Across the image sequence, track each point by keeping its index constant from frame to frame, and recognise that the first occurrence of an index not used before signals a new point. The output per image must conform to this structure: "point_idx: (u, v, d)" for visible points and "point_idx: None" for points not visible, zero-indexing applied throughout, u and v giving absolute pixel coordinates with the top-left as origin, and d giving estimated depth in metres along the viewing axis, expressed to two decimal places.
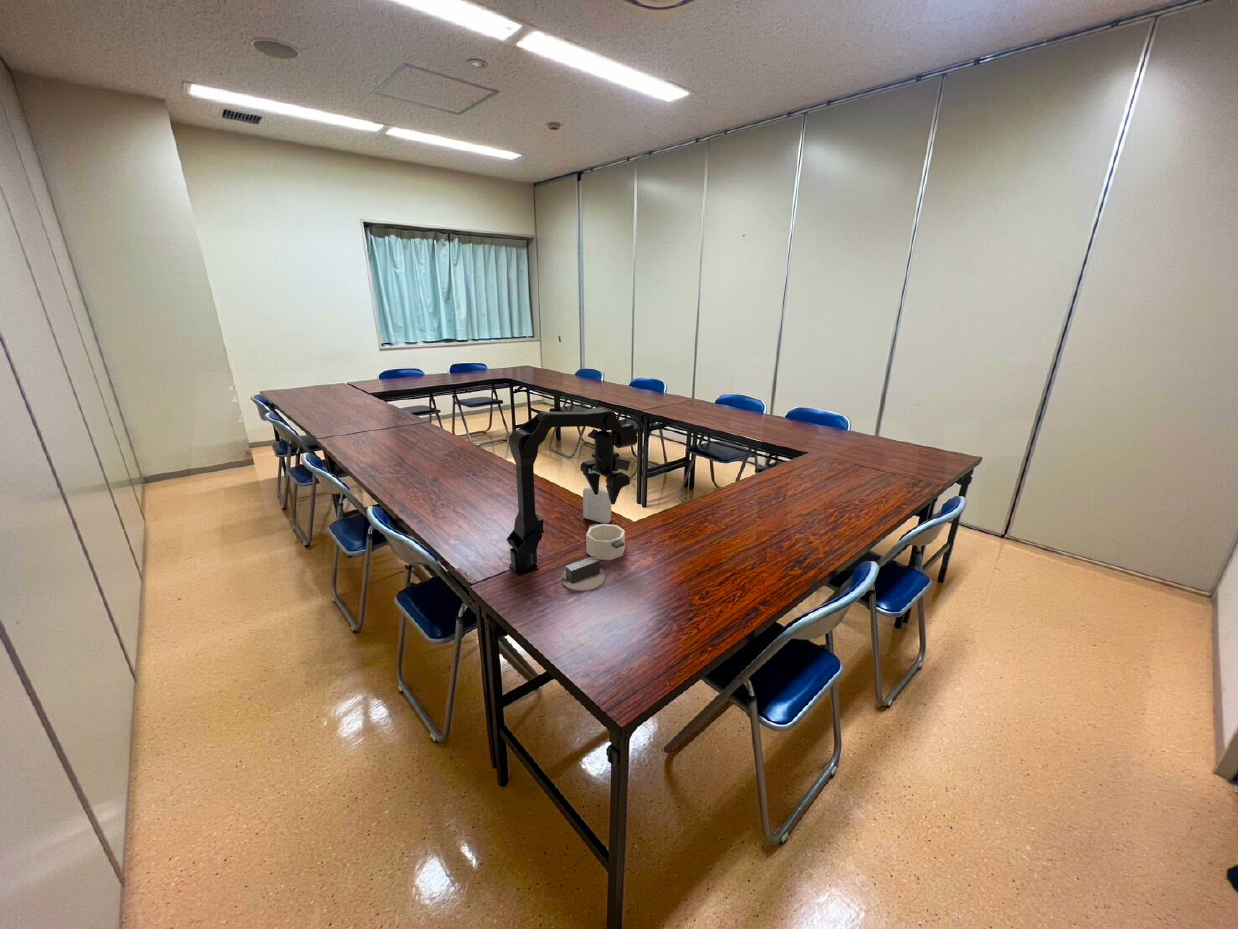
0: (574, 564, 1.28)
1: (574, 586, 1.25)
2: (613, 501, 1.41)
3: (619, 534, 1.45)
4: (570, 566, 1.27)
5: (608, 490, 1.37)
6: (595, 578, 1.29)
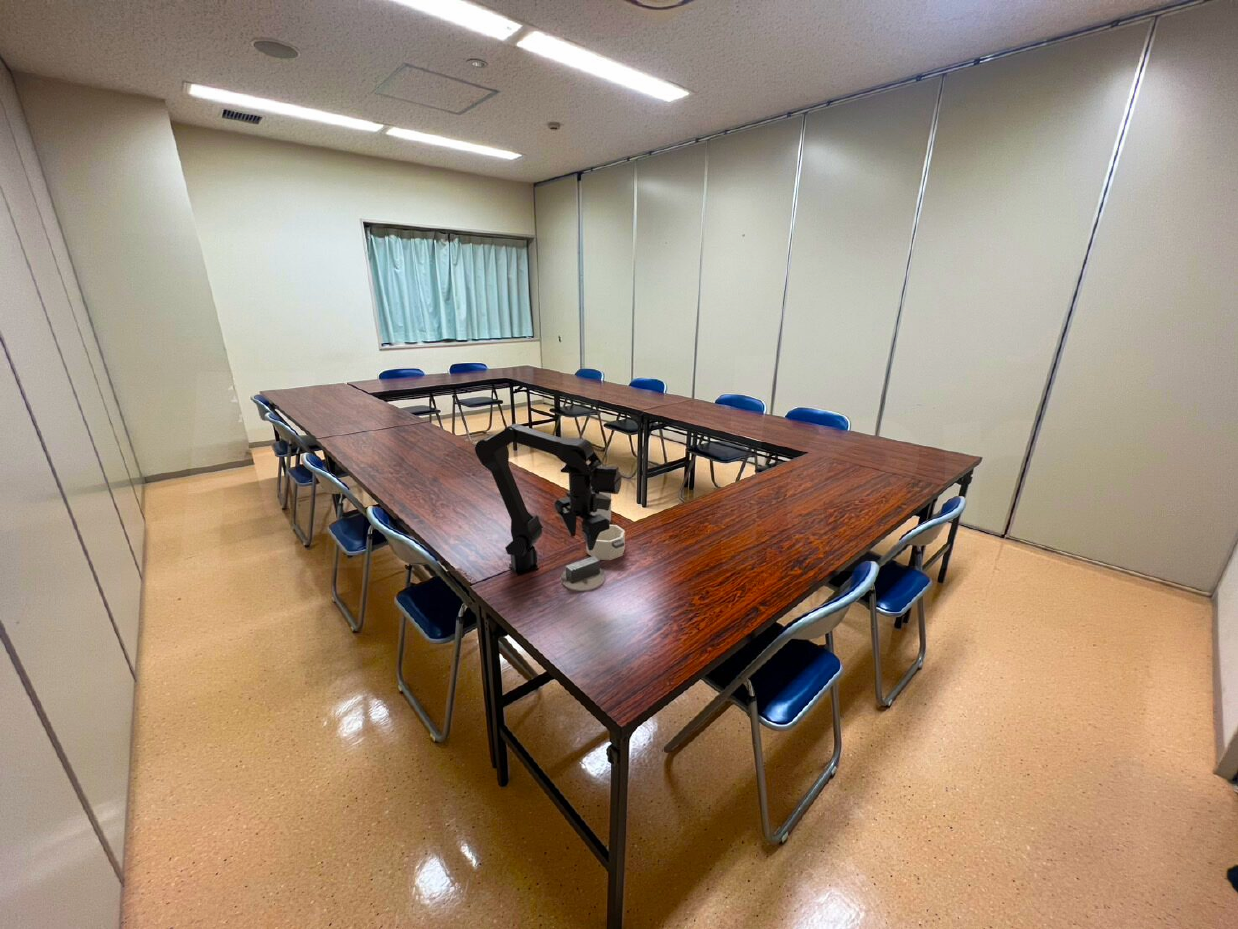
0: (574, 564, 1.28)
1: (574, 586, 1.25)
2: (591, 547, 1.22)
3: (619, 534, 1.45)
4: (570, 566, 1.27)
5: (584, 535, 1.19)
6: (595, 578, 1.29)
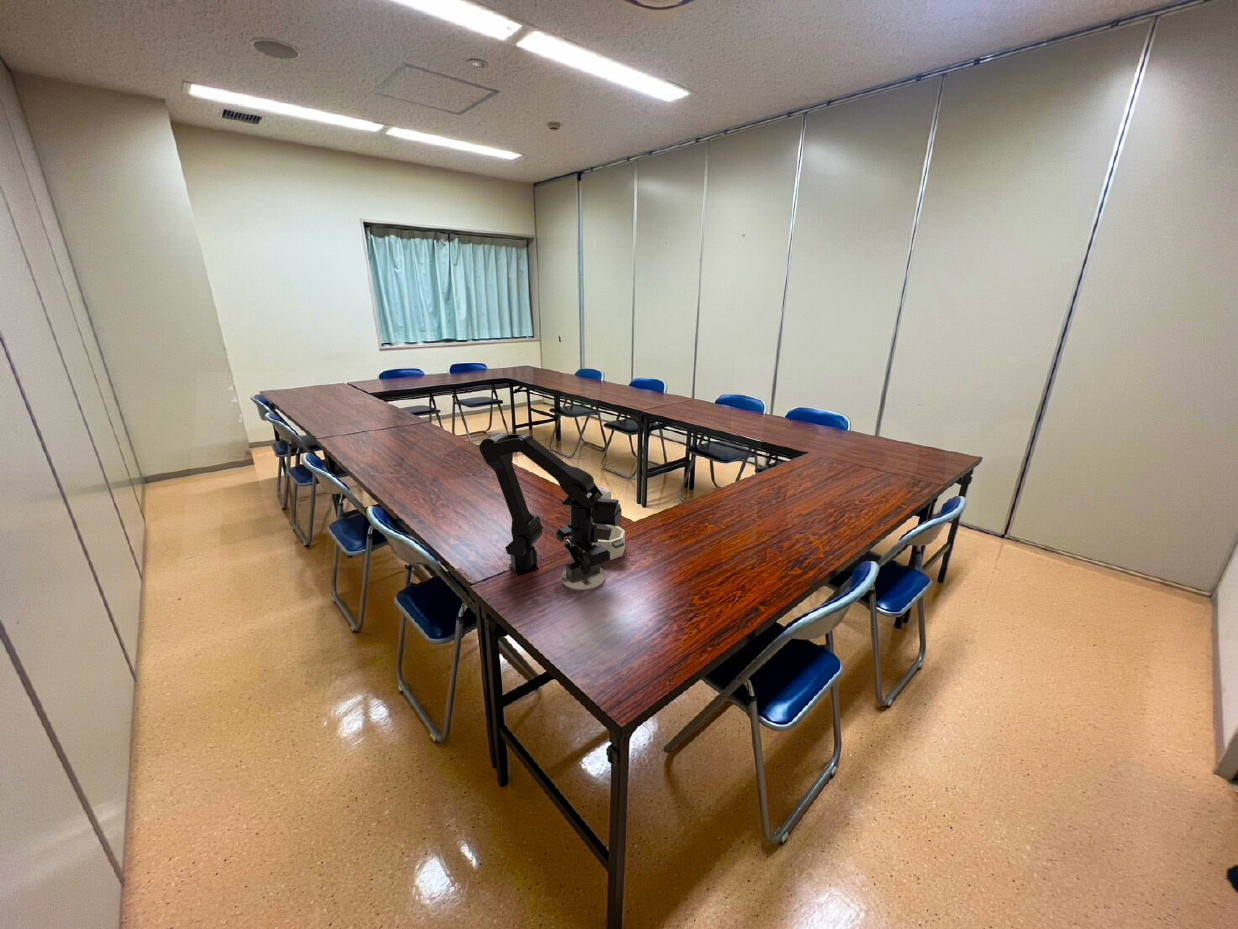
0: (574, 563, 1.28)
1: (574, 585, 1.25)
2: (586, 572, 1.27)
3: (619, 534, 1.45)
4: (570, 565, 1.27)
5: (580, 561, 1.24)
6: (595, 577, 1.29)
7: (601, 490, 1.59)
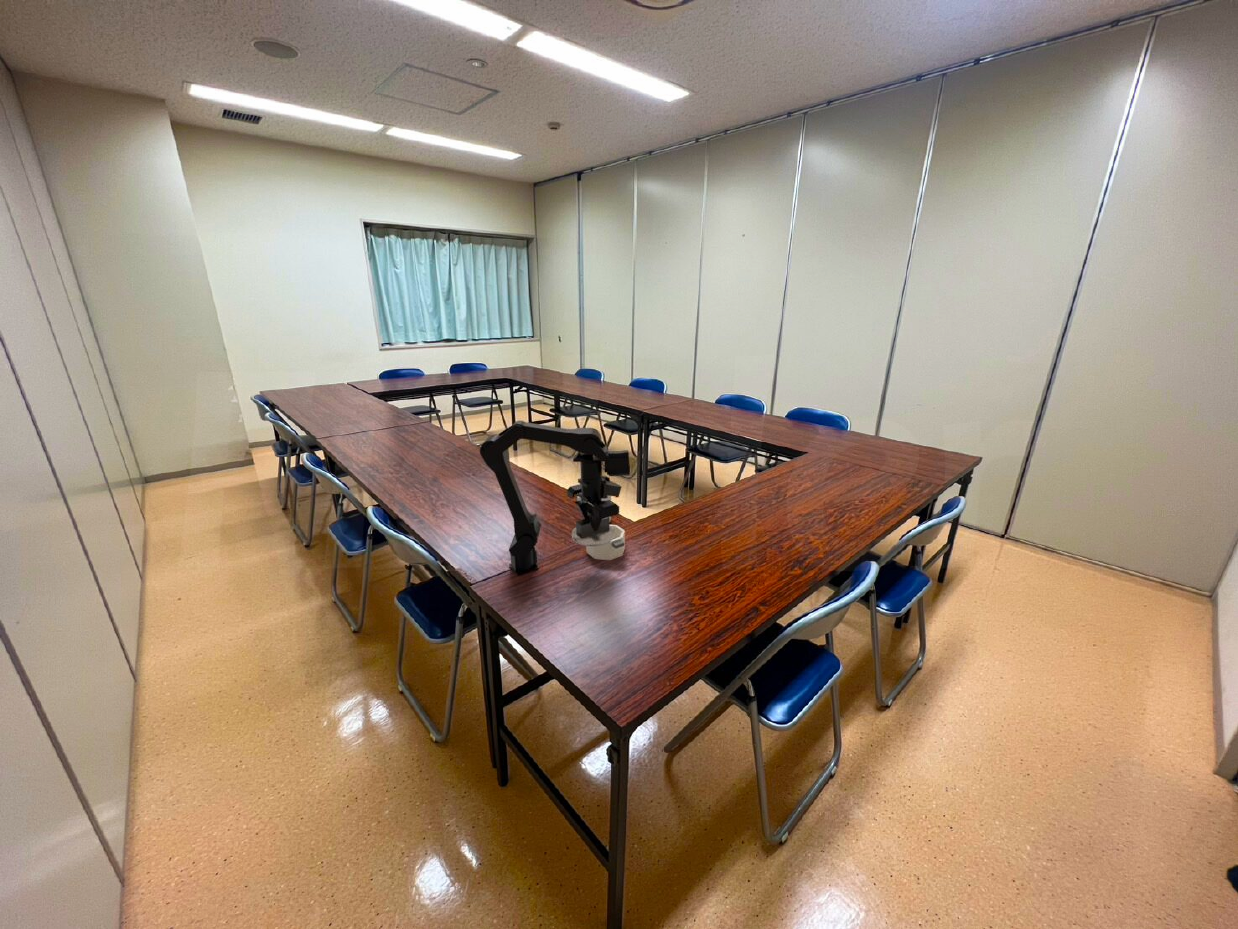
0: (584, 520, 1.30)
1: (584, 541, 1.28)
2: (596, 527, 1.30)
3: (619, 534, 1.45)
4: (580, 522, 1.29)
5: (589, 516, 1.26)
6: (605, 534, 1.31)
7: None
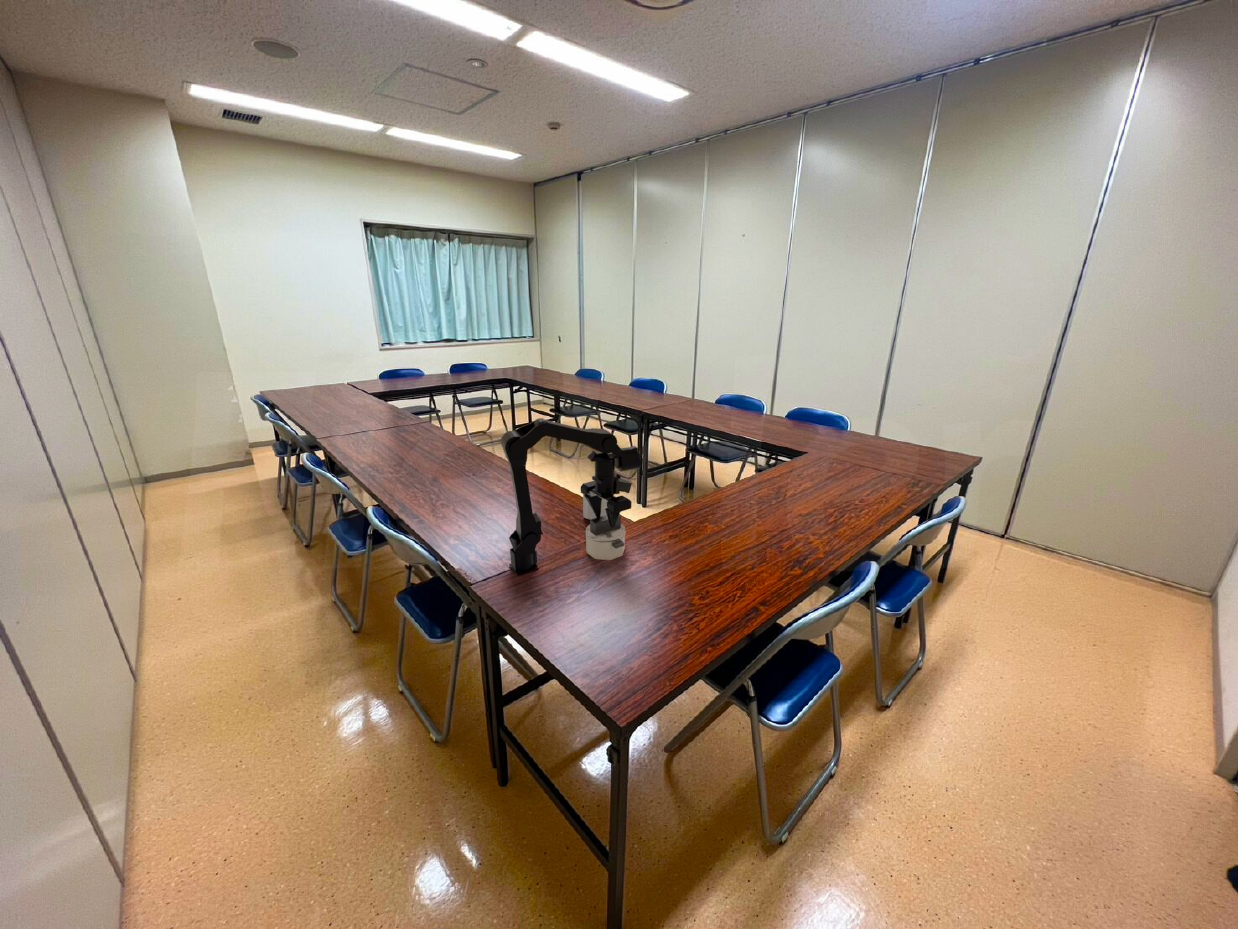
0: (597, 518, 1.40)
1: (598, 537, 1.37)
2: (613, 524, 1.37)
3: None
4: (594, 520, 1.39)
5: (607, 513, 1.34)
6: (616, 531, 1.41)
7: None
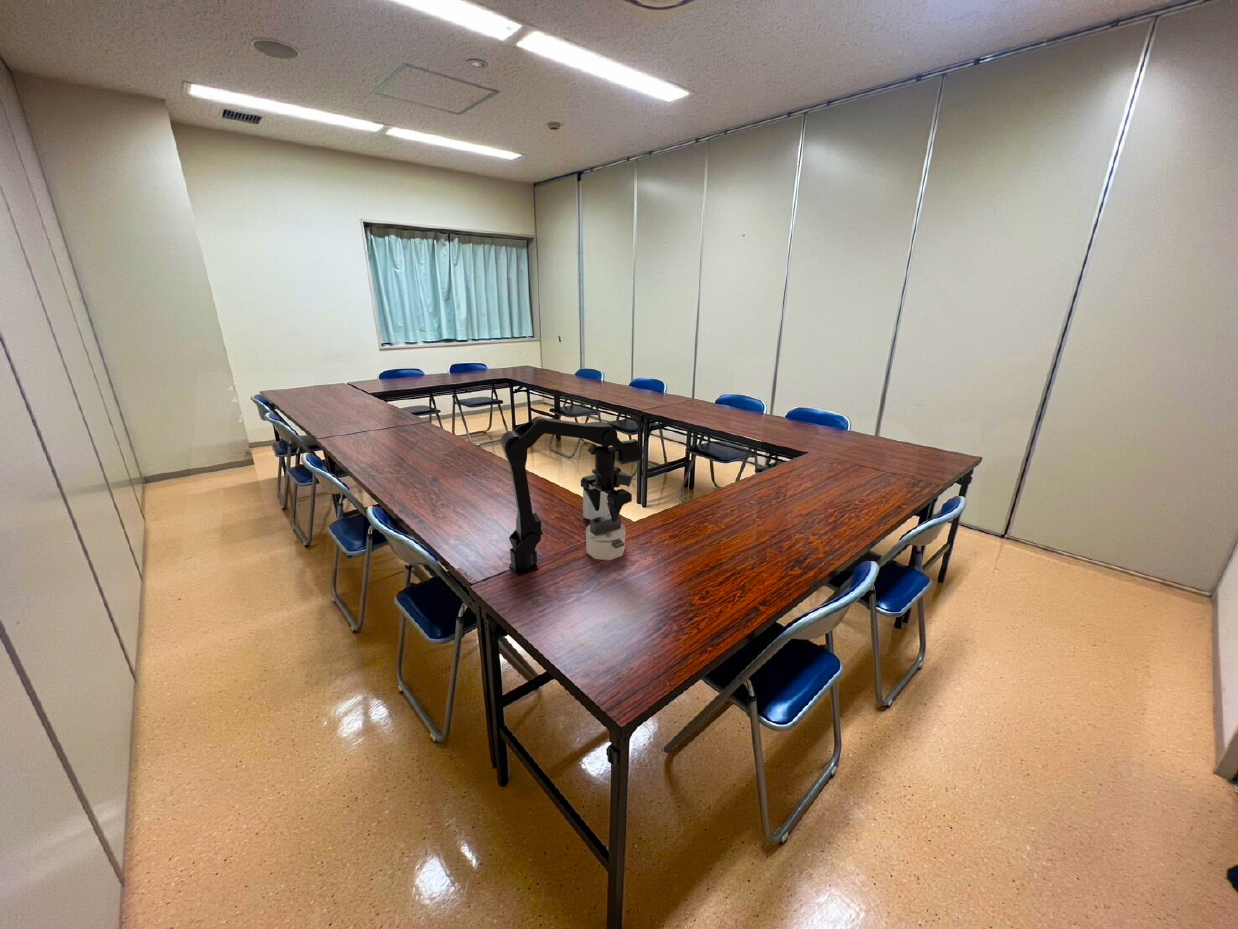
0: (597, 518, 1.40)
1: (598, 537, 1.37)
2: (615, 518, 1.36)
3: None
4: (594, 520, 1.39)
5: (609, 507, 1.33)
6: (616, 531, 1.41)
7: None
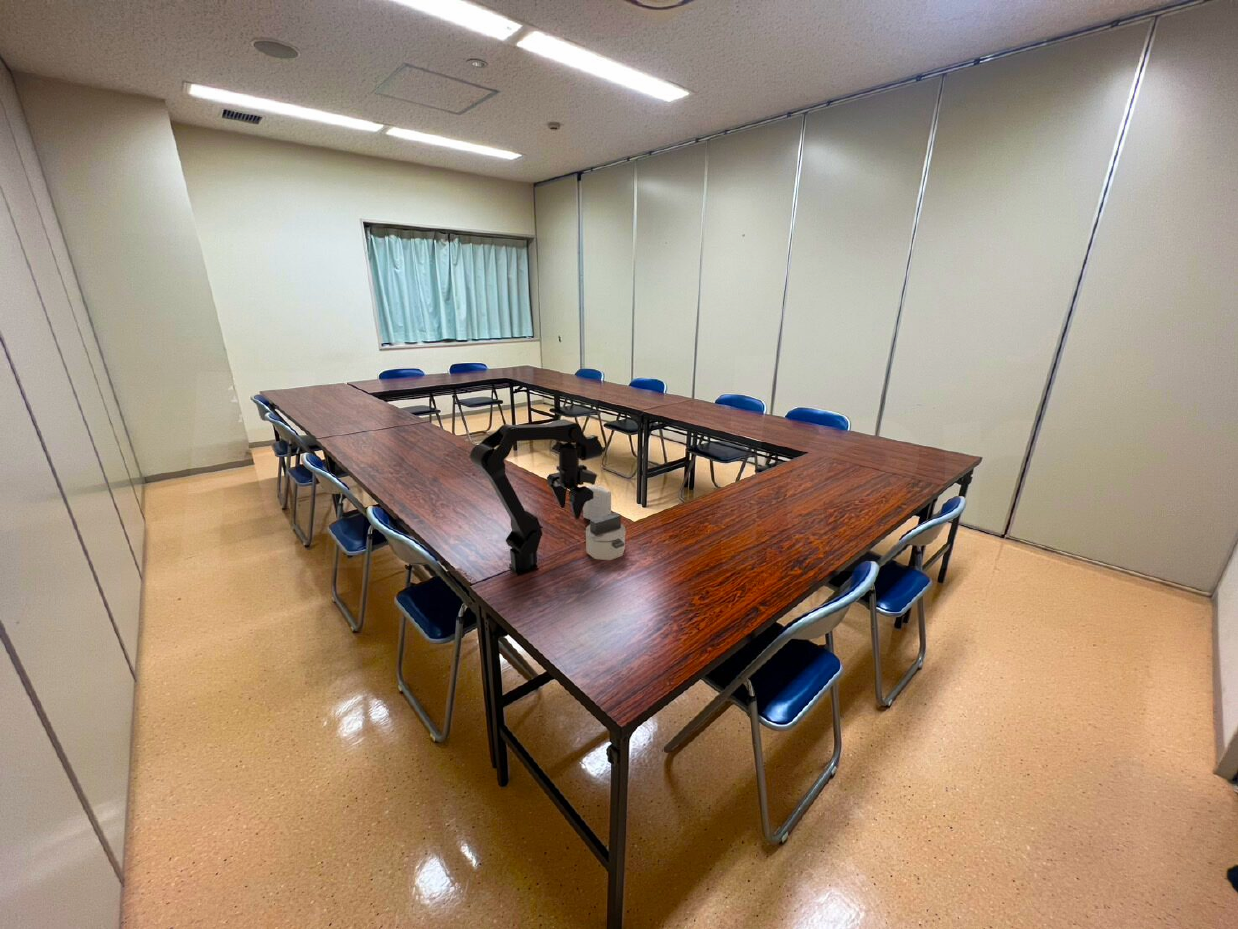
0: (597, 518, 1.40)
1: (598, 537, 1.37)
2: (577, 515, 1.37)
3: None
4: (594, 520, 1.39)
5: (571, 504, 1.34)
6: (616, 531, 1.41)
7: (601, 490, 1.59)
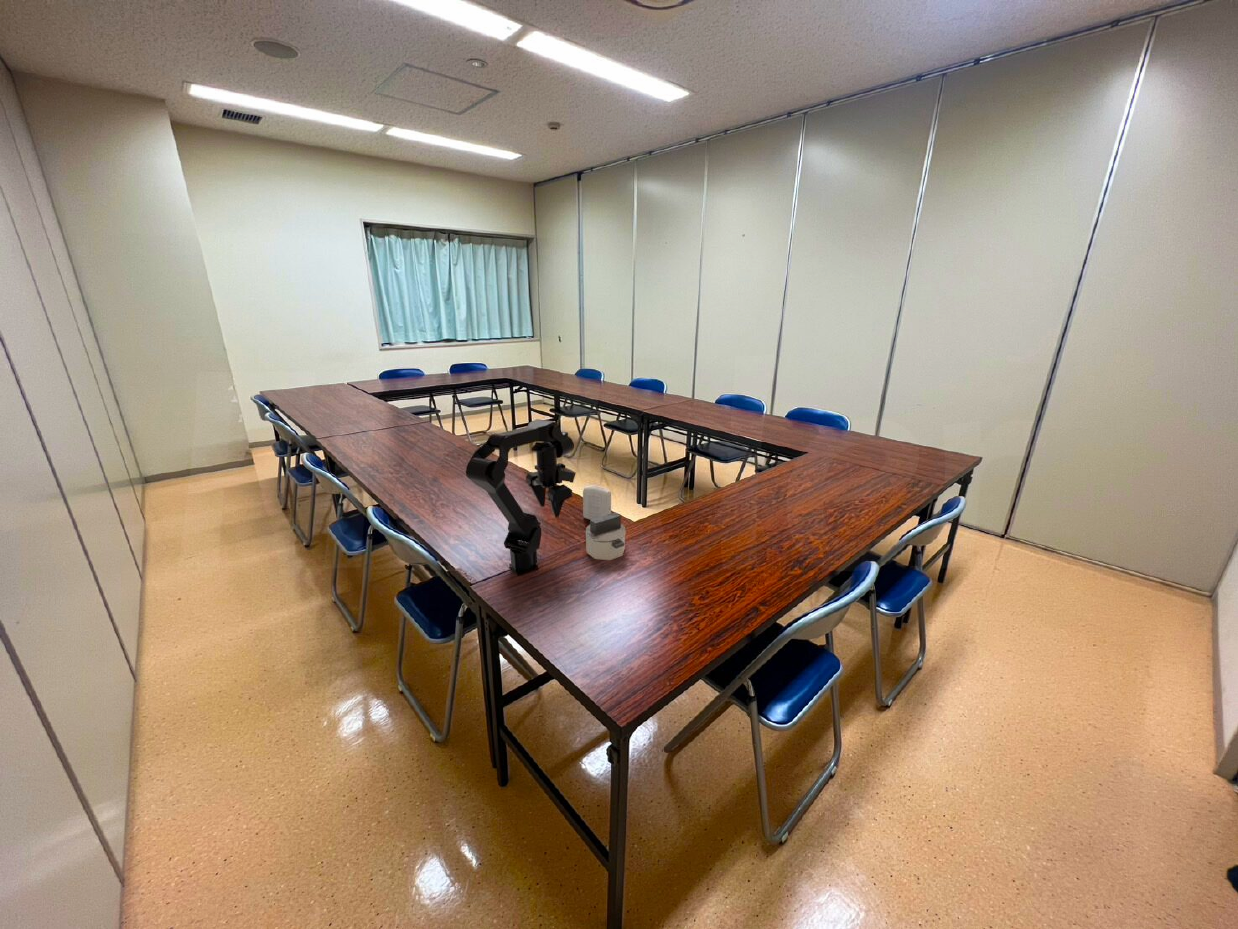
0: (597, 518, 1.40)
1: (598, 537, 1.37)
2: (556, 514, 1.38)
3: None
4: (594, 520, 1.39)
5: (550, 503, 1.35)
6: (616, 531, 1.41)
7: (601, 490, 1.59)
